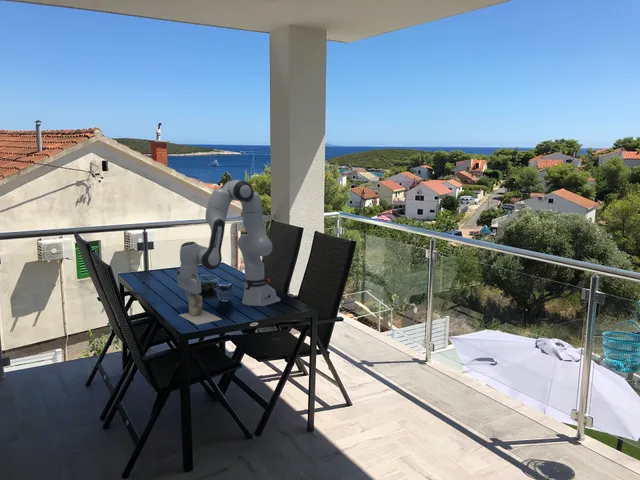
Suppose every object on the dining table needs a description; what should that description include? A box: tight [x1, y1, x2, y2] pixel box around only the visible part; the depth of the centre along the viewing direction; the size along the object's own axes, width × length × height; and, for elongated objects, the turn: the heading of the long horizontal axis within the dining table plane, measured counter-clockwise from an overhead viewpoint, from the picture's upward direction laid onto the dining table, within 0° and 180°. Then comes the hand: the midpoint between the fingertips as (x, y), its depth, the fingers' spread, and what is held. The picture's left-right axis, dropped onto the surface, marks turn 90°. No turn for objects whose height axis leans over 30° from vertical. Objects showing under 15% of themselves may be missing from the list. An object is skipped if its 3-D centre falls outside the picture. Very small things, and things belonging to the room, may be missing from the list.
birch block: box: [188, 294, 203, 317], centre depth 246 cm, size 5×5×10 cm
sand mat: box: [179, 309, 223, 326], centre depth 244 cm, size 14×20×1 cm
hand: (189, 298), depth 251 cm, fingers closed
